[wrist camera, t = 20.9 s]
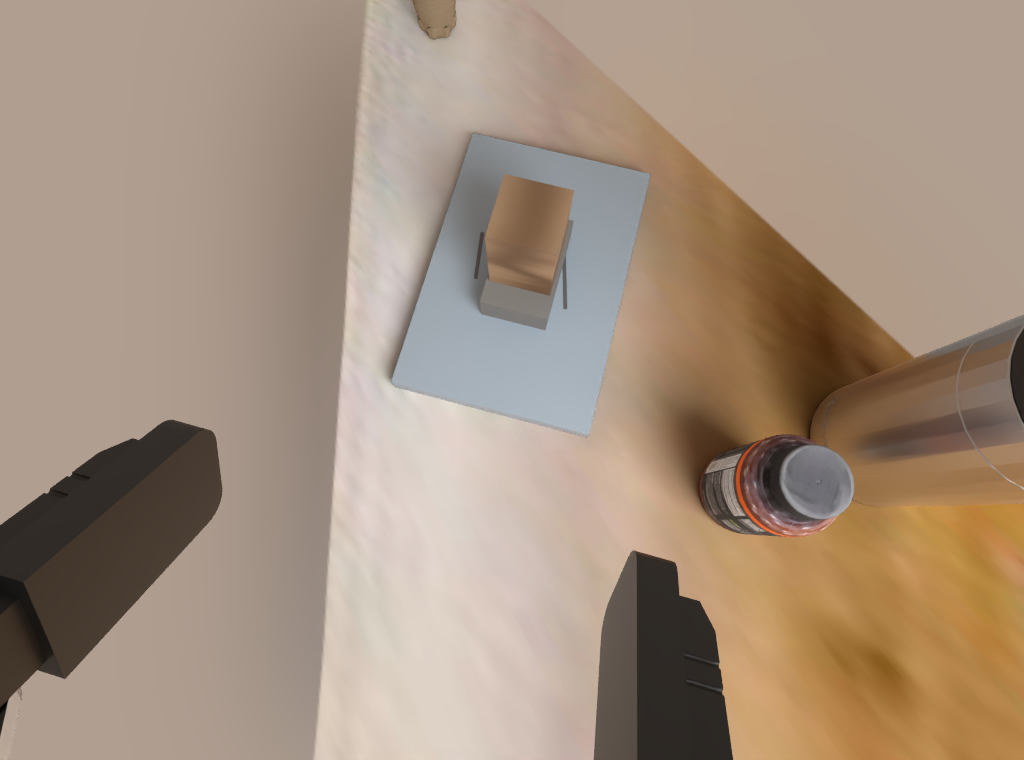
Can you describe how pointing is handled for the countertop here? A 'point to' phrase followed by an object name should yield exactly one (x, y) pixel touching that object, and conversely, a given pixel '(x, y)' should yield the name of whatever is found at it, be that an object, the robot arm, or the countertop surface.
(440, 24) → the handle
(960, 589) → the countertop surface
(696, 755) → the robot arm
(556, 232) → the block
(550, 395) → the board
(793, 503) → the supplement bottle
